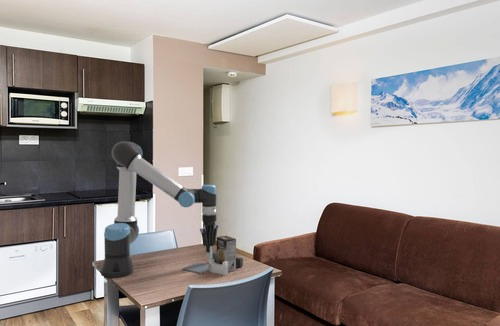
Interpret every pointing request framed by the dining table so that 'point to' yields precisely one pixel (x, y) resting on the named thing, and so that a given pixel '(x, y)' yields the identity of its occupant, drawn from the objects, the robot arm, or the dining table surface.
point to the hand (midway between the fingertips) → (209, 258)
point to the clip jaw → (218, 267)
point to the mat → (197, 268)
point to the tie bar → (238, 259)
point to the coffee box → (226, 251)
